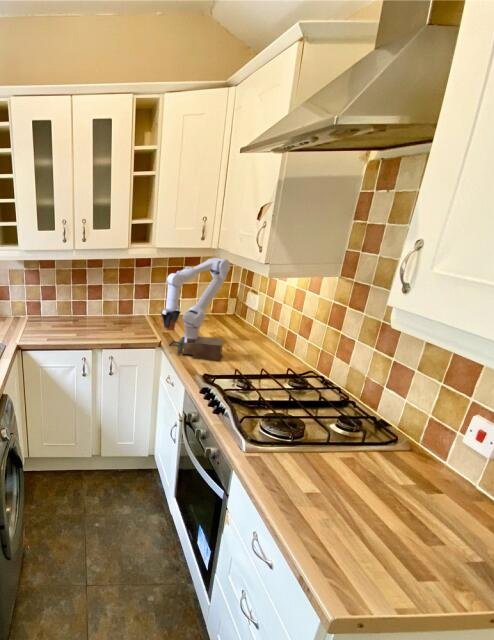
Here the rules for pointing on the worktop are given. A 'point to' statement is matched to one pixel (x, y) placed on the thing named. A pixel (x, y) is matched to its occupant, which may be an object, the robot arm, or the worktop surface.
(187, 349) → the drawer
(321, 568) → the worktop surface
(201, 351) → the cabinet
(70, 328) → the worktop surface
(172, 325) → the block
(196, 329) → the robot arm
